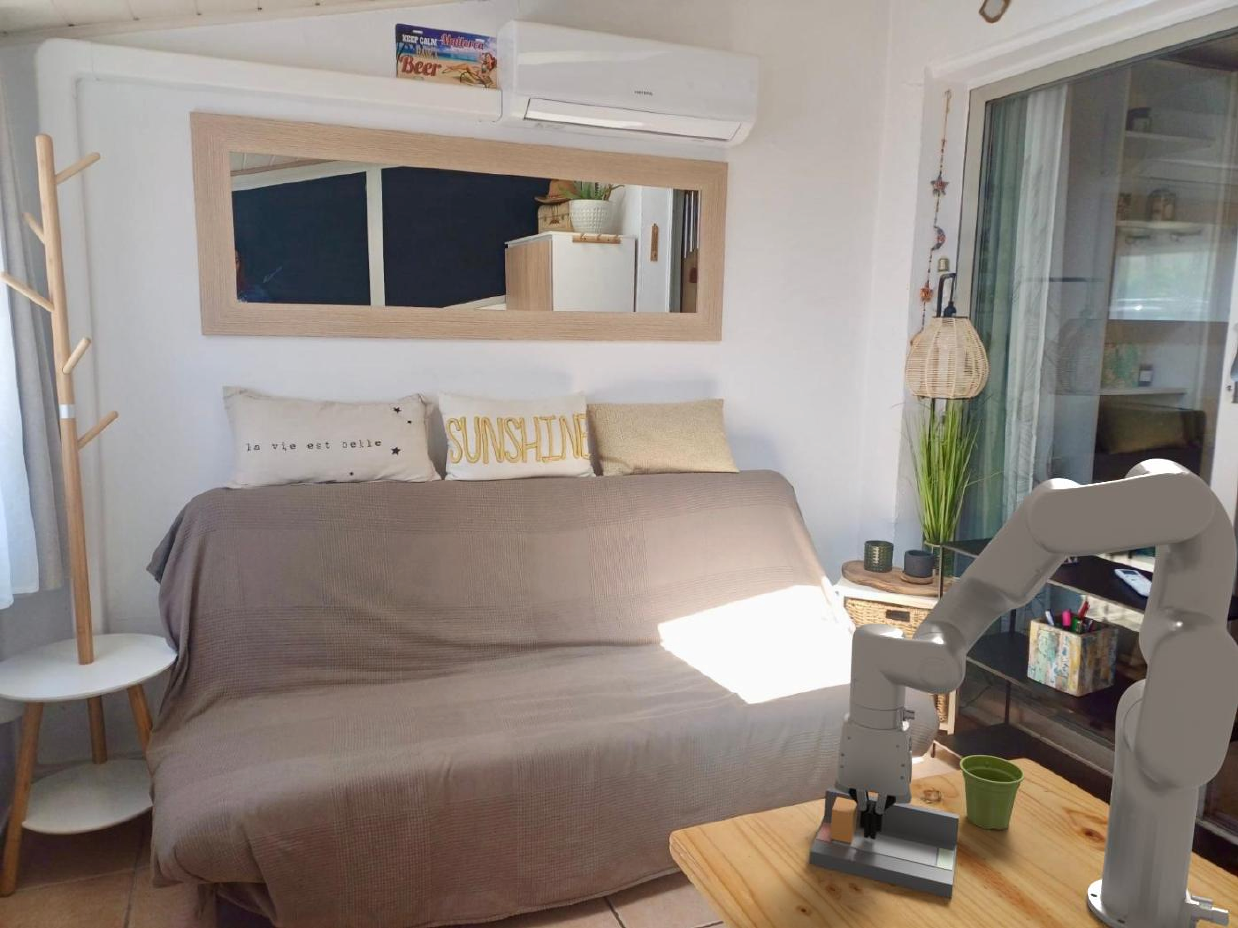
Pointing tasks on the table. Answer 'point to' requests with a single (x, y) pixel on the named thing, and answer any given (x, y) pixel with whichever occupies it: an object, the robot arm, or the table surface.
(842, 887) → the table surface
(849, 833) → the handle
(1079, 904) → the table surface
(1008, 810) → the plant pot
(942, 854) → the switch panel
